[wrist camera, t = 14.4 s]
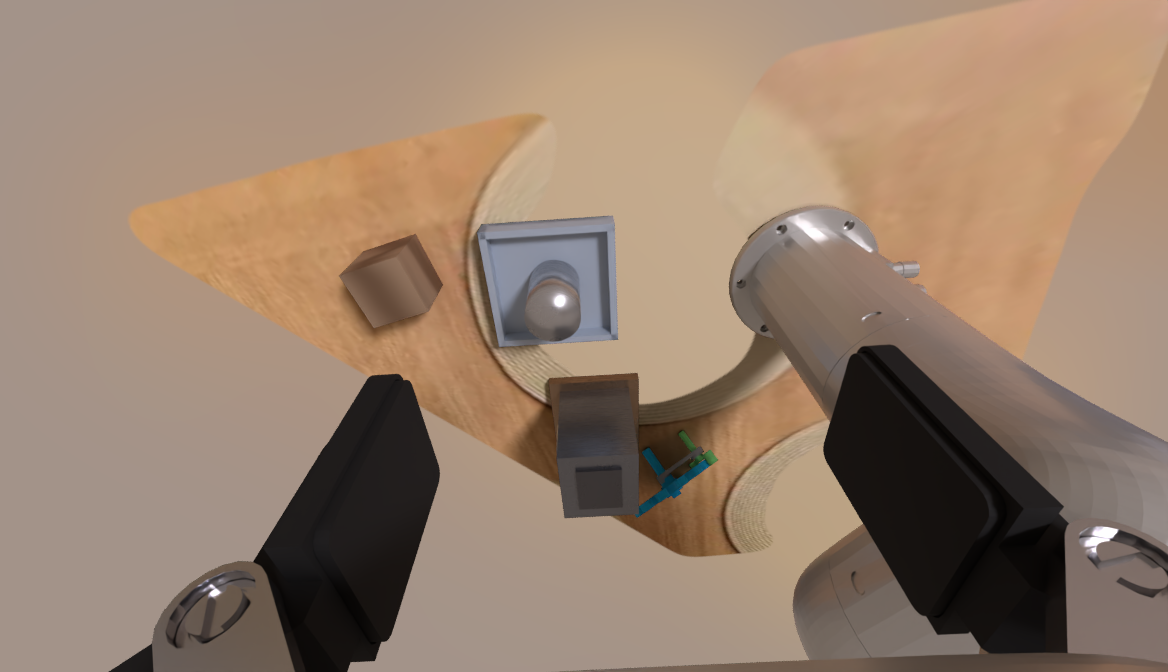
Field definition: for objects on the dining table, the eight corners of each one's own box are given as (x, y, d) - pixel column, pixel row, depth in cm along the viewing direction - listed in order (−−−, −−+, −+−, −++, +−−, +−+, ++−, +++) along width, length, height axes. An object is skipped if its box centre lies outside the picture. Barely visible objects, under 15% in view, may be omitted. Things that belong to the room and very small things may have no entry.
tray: (612, 215, 39) (614, 223, 37) (616, 328, 45) (618, 339, 43) (481, 224, 39) (477, 232, 37) (502, 335, 45) (499, 347, 43)
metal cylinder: (579, 259, 40) (581, 293, 35) (579, 304, 42) (580, 341, 38) (528, 259, 40) (522, 293, 35) (531, 304, 42) (526, 341, 37)
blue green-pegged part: (653, 511, 57) (629, 532, 48) (625, 469, 59) (596, 481, 50) (727, 459, 54) (716, 470, 45) (695, 417, 56) (679, 420, 47)
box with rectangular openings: (637, 373, 48) (651, 447, 39) (637, 443, 53) (649, 522, 44) (549, 378, 48) (543, 453, 39) (558, 448, 53) (555, 528, 44)
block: (415, 233, 39) (396, 256, 35) (443, 284, 42) (428, 311, 38) (363, 251, 40) (339, 275, 36) (393, 299, 43) (373, 328, 39)
